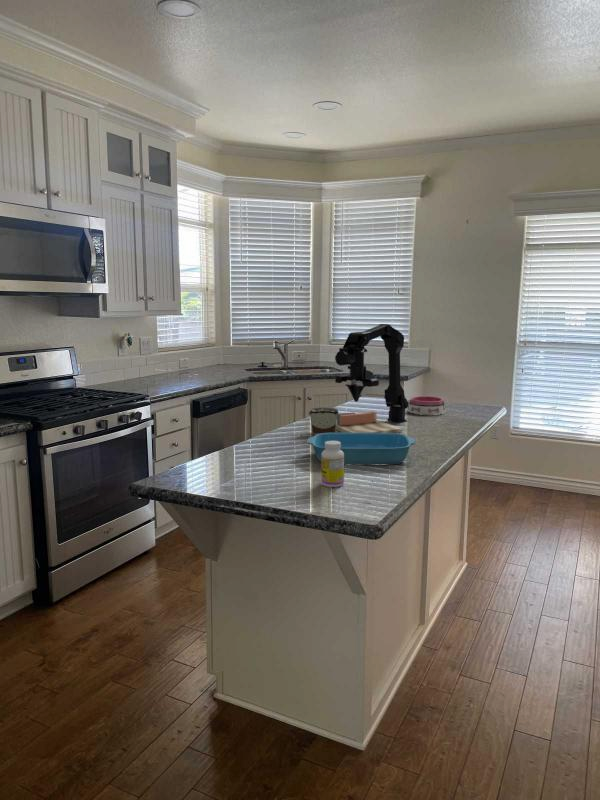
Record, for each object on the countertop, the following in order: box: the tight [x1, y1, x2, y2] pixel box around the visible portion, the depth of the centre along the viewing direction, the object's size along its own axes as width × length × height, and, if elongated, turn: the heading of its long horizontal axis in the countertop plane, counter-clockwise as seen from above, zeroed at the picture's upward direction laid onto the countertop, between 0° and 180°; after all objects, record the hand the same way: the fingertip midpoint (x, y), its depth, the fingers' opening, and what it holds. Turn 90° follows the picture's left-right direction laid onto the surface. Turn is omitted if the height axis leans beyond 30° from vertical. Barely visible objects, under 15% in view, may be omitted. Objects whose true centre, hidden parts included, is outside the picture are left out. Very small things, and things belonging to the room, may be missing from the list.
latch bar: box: [339, 411, 377, 426], centre depth 252 cm, size 17×3×4 cm, turn 115°
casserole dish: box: [306, 432, 416, 465], centre depth 203 cm, size 37×22×7 cm, turn 86°
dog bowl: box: [406, 395, 447, 416], centre depth 286 cm, size 18×19×7 cm
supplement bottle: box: [320, 441, 345, 488], centre depth 174 cm, size 7×7×13 cm
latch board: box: [336, 412, 403, 434], centre depth 247 cm, size 22×20×6 cm
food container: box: [308, 407, 340, 435], centre depth 243 cm, size 12×6×10 cm, turn 84°
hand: (356, 401), depth 243 cm, fingers closed
